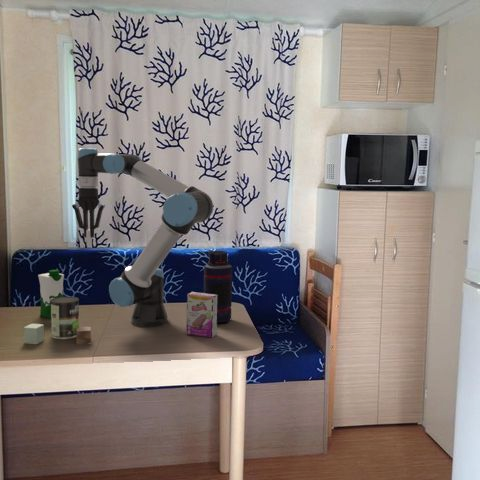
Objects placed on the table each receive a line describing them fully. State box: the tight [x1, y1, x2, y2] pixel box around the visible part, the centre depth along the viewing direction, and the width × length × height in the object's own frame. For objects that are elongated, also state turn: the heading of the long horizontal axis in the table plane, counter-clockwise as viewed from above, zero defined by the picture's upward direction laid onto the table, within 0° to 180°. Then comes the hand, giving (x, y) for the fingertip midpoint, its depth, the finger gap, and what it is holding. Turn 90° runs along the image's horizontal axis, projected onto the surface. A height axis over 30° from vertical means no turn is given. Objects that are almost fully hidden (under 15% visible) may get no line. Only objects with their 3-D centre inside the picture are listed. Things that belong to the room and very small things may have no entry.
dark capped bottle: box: [203, 250, 233, 324], centre depth 231 cm, size 14×12×30 cm
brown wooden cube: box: [76, 326, 92, 345], centre depth 202 cm, size 5×5×5 cm
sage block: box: [23, 323, 45, 345], centre depth 201 cm, size 5×5×6 cm
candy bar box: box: [185, 291, 218, 339], centre depth 212 cm, size 11×5×16 cm, turn 71°
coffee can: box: [50, 296, 80, 340], centre depth 208 cm, size 10×10×14 cm
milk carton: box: [37, 269, 65, 319], centre depth 233 cm, size 9×9×20 cm
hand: (89, 245), depth 221 cm, fingers closed
